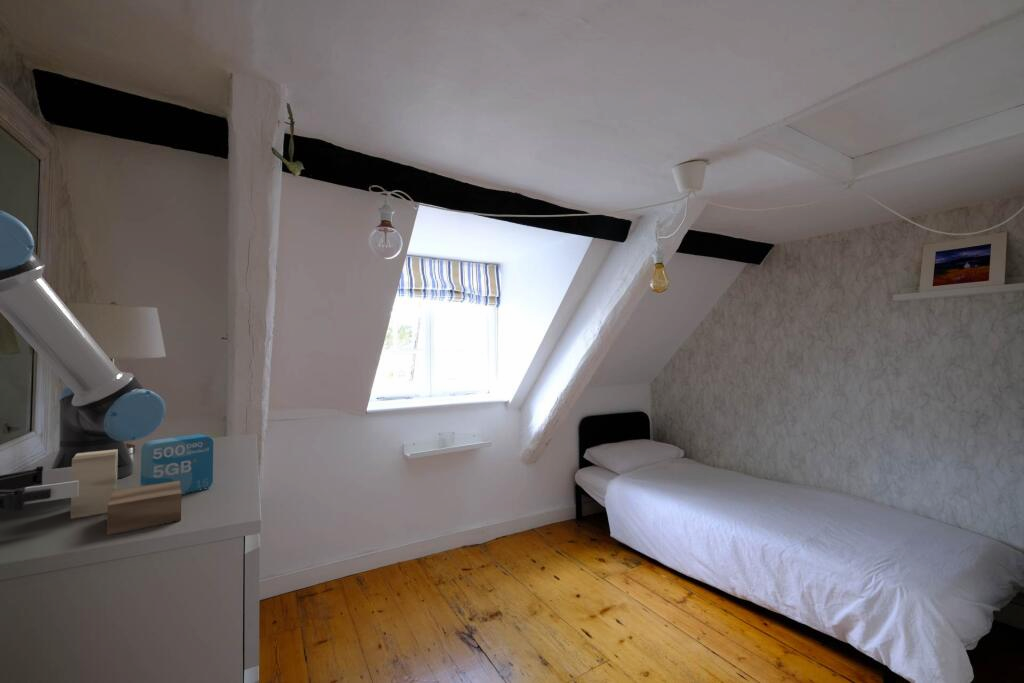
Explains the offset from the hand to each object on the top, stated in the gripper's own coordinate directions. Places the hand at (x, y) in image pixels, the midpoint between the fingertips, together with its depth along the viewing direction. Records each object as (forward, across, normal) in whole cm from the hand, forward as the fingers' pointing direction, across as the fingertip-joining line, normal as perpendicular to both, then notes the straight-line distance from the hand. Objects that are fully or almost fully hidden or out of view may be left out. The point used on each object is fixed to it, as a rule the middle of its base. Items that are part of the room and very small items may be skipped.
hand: (84, 479), depth 84 cm
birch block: (+2, 0, -6) cm, 7 cm away
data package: (+14, -4, -7) cm, 16 cm away
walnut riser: (+10, +12, -6) cm, 16 cm away
